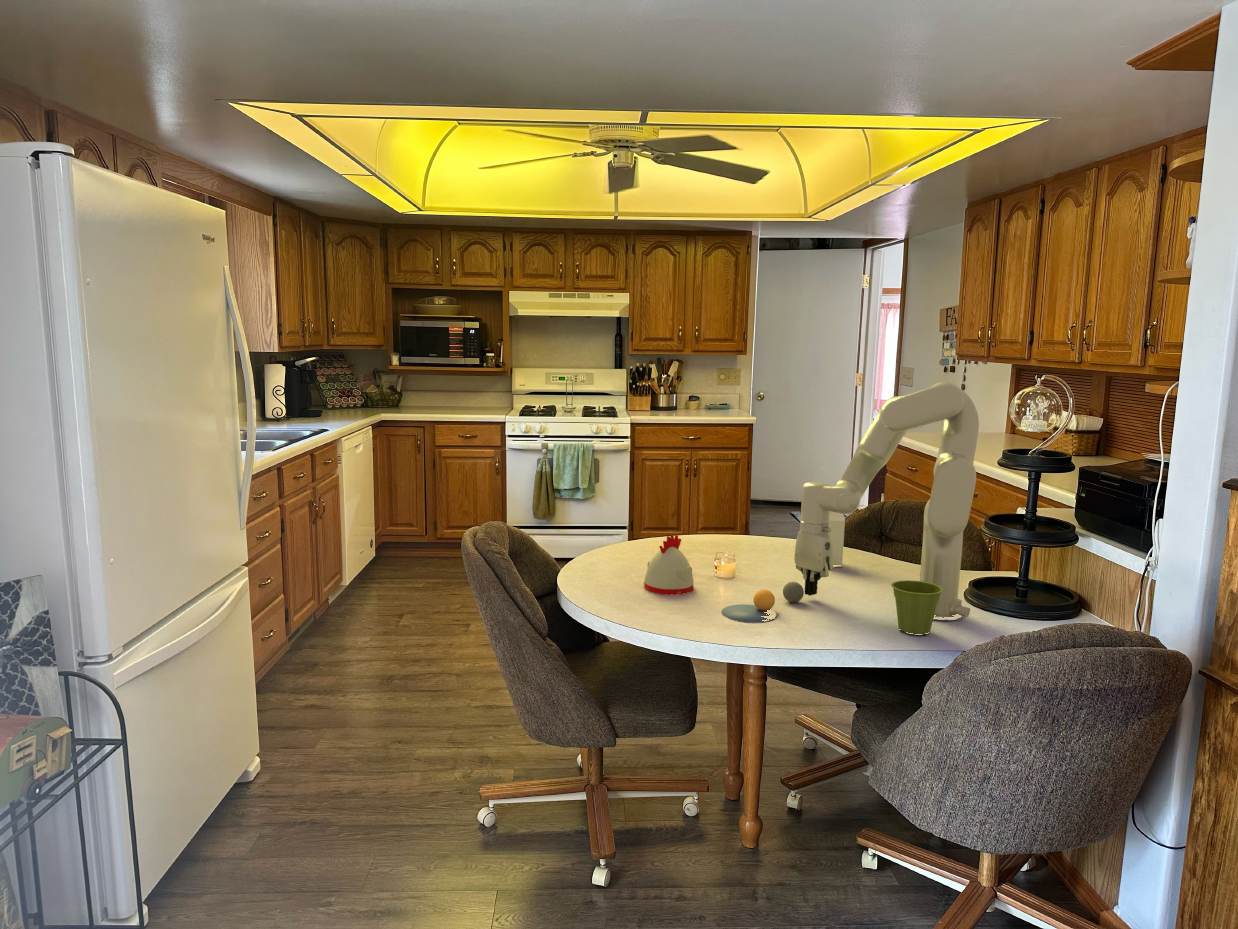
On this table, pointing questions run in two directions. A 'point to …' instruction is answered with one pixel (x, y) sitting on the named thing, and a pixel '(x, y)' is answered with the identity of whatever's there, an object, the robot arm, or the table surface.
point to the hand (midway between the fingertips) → (810, 594)
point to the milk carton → (837, 536)
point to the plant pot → (915, 605)
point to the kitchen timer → (669, 570)
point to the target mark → (744, 613)
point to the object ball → (764, 600)
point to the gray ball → (793, 592)
